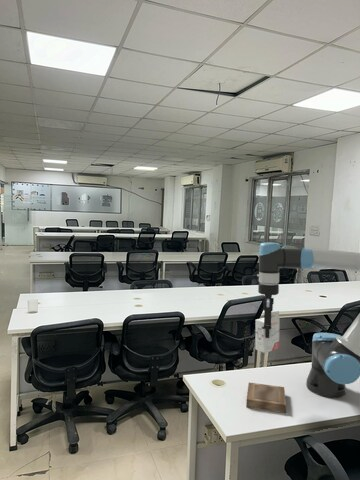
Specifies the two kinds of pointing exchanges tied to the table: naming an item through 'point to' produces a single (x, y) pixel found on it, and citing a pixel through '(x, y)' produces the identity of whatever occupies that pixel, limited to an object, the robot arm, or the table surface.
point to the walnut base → (266, 397)
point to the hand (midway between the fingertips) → (267, 341)
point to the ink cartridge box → (274, 334)
